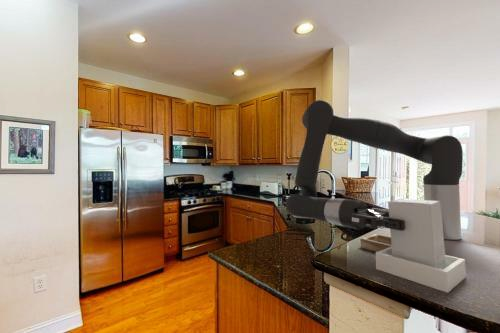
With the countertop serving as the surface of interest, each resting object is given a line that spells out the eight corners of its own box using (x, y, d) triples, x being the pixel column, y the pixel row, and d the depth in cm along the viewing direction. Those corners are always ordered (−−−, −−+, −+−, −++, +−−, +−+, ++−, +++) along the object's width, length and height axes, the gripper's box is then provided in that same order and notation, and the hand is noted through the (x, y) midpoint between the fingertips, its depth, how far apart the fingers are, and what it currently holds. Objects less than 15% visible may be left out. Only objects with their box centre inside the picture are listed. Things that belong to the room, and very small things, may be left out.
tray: (398, 258, 57) (397, 244, 57) (465, 277, 47) (465, 259, 47) (376, 268, 51) (375, 252, 51) (447, 292, 41) (447, 272, 41)
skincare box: (446, 272, 48) (444, 200, 48) (435, 280, 44) (433, 203, 45) (402, 260, 54) (400, 197, 55) (389, 266, 51) (387, 199, 52)
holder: (376, 241, 71) (376, 233, 71) (418, 251, 62) (417, 242, 62) (360, 247, 66) (360, 238, 66) (403, 258, 57) (402, 248, 57)
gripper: (329, 201, 59) (397, 208, 46) (359, 197, 67) (425, 202, 54) (329, 230, 59) (398, 246, 46) (360, 223, 67) (426, 235, 54)
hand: (413, 222), depth 50 cm, fingers open, 8 cm apart
